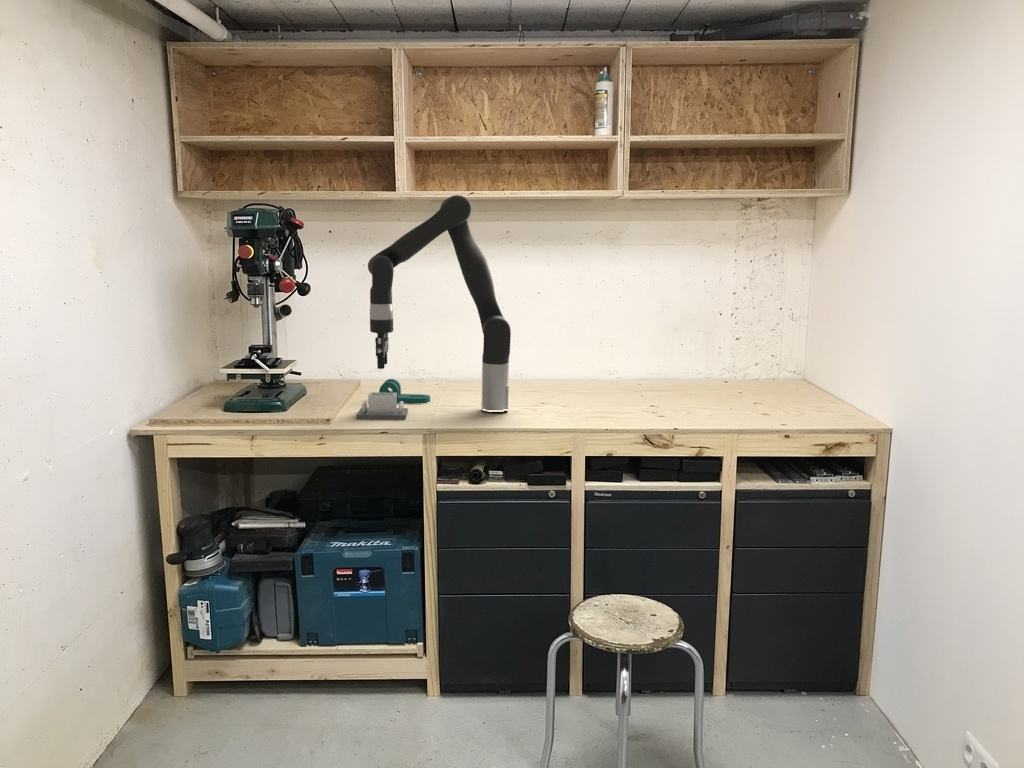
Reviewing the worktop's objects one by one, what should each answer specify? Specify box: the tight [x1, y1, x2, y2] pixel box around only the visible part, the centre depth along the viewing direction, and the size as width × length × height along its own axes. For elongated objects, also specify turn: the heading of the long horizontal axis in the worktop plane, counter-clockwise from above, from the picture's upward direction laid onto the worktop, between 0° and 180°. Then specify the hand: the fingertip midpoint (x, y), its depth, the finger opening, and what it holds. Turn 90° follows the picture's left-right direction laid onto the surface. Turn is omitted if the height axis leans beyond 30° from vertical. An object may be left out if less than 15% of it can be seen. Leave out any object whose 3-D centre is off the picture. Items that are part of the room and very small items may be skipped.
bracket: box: [378, 378, 431, 404], centre depth 251 cm, size 18×7×8 cm, turn 90°
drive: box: [367, 391, 398, 413], centre depth 229 cm, size 9×4×6 cm, turn 95°
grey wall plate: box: [356, 400, 409, 421], centre depth 230 cm, size 16×10×4 cm, turn 94°
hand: (382, 366), depth 227 cm, fingers open, 8 cm apart
